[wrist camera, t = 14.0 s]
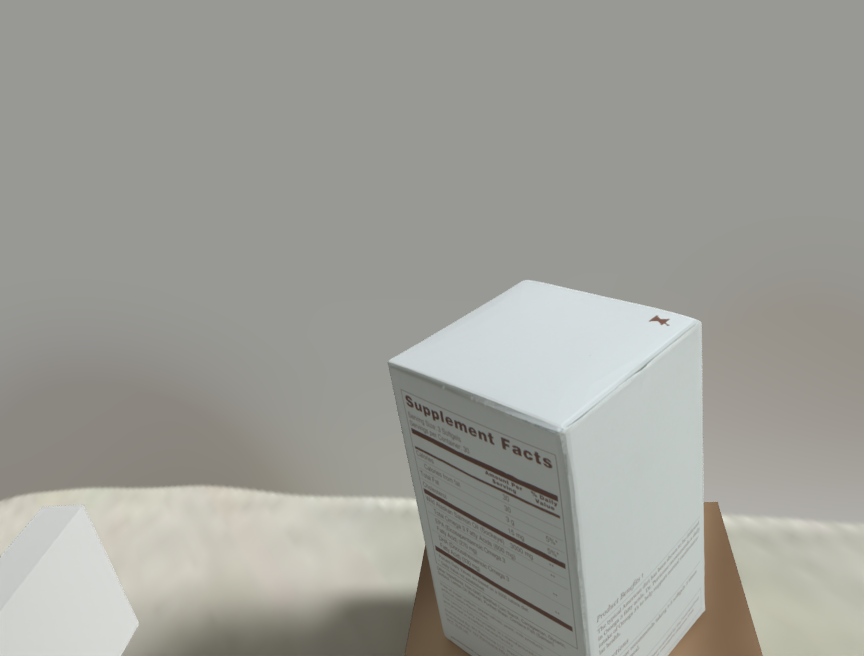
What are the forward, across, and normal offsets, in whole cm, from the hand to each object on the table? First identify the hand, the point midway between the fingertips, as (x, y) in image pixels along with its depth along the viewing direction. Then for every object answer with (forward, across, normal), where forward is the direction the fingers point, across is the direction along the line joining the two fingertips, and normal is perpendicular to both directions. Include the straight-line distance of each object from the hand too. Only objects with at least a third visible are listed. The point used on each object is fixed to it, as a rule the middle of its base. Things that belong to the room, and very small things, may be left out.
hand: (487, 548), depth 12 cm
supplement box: (+13, 0, -16) cm, 21 cm away
